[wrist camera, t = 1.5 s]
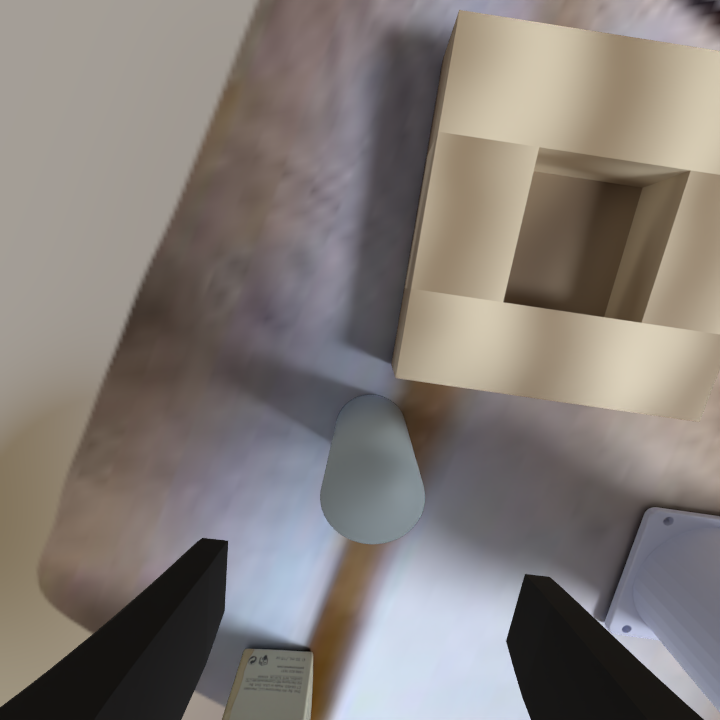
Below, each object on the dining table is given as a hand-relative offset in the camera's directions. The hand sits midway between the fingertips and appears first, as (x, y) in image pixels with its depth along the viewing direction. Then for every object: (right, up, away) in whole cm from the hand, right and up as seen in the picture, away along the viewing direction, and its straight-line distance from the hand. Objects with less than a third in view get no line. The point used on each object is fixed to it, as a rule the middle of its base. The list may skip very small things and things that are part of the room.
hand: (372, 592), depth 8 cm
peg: (0, +2, +9) cm, 10 cm away
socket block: (+9, +11, +7) cm, 16 cm away
